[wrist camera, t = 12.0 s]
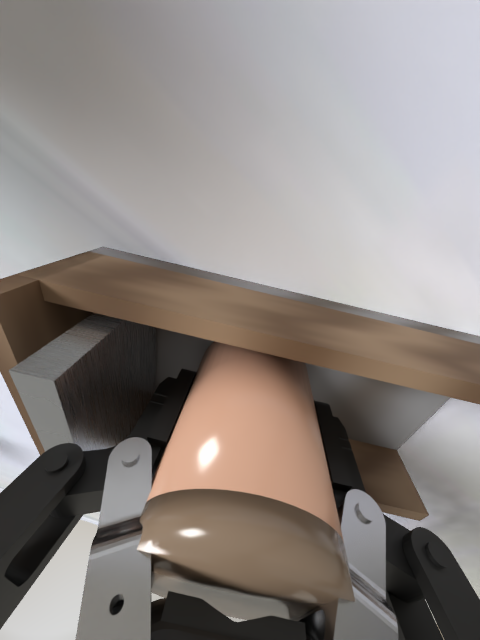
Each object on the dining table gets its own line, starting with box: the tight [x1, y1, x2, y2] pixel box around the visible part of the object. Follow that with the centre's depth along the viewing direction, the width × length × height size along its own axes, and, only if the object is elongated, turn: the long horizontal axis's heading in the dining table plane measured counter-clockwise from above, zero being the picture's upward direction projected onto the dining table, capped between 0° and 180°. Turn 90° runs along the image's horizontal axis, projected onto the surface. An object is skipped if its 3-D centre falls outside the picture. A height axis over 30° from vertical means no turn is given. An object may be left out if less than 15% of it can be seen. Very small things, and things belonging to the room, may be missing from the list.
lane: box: [0, 247, 480, 521], centre depth 11 cm, size 20×10×6 cm, turn 78°
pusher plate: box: [9, 313, 156, 452], centre depth 10 cm, size 1×7×6 cm, turn 168°
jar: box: [137, 341, 355, 620], centre depth 9 cm, size 6×6×8 cm
